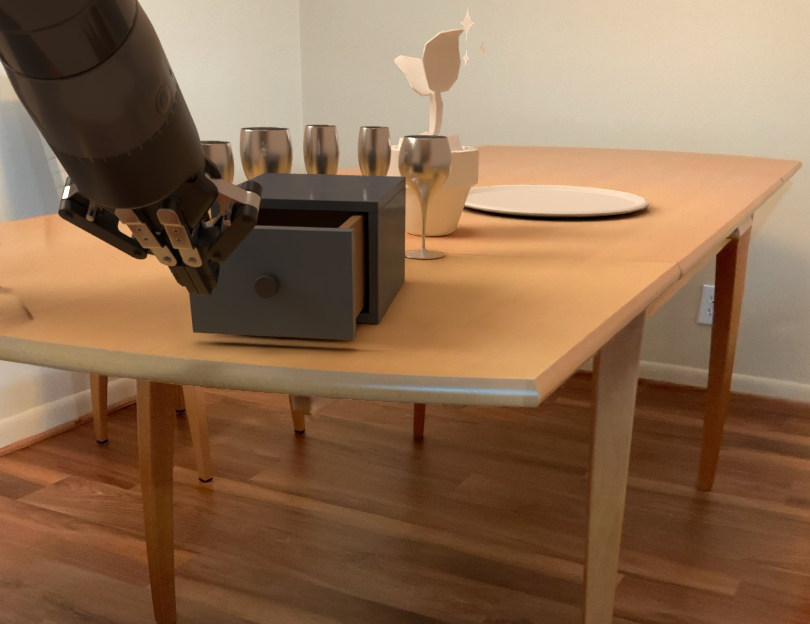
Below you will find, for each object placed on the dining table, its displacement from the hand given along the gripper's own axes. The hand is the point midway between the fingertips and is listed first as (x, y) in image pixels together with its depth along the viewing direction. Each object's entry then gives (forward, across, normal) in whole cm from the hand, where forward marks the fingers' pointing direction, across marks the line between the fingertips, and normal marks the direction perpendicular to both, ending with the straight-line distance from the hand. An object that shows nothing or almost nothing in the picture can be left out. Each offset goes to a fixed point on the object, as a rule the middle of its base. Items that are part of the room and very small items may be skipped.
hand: (203, 283), depth 63 cm
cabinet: (+19, -4, -11) cm, 22 cm away
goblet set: (+30, -1, -22) cm, 37 cm away
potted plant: (+44, -9, -36) cm, 58 cm away
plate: (+63, -24, -54) cm, 86 cm away
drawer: (+11, -4, -5) cm, 13 cm away
